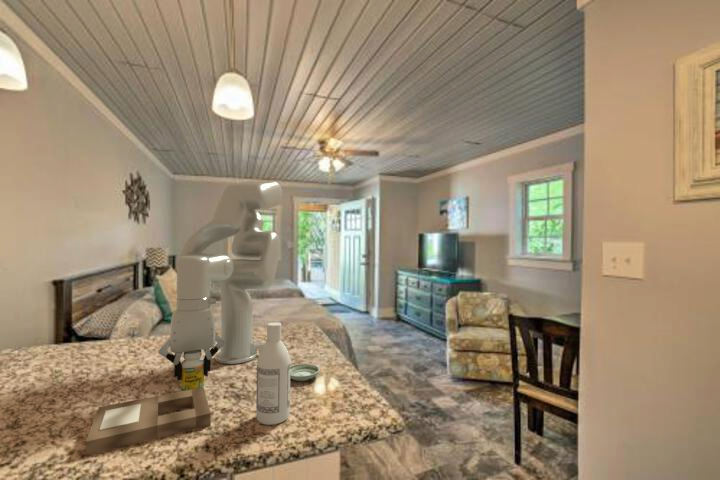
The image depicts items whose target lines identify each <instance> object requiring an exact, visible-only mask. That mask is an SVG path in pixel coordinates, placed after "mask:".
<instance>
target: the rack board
mask: <svg viewBox="0 0 720 480" xmlns="http://www.w3.org/2000/svg"><path fill="white" fill-rule="evenodd" d="M188 408H191V409H188ZM184 409H187V410H184ZM179 410H181V411H179ZM174 411H176V412H174ZM169 412H173V413H169ZM164 413H168V414H164ZM160 414H164V415H160ZM211 415H212V412H211V409H210V405H209V402H208V398H207V395H206V391H205V386H204V387H201V388H196V389H191V390H186V391H181V390H180V391H177V392H171V393H166V394H160V395H156V396H155V395H154V396H150V397H149V396H148V397H145V398H140V399H135V400H129V401H124V402H119V403H113V404H108V405H103V406H102V405H101V406H98V409H97V411H96V413H95V416H94V419H93V422H92V425H91V427H90V429H89V432H88V435H87V437H86V440H85V457H88V456H92V455H96V454H99V453H104V452H107V451H112V450H116V449H120V448H125V447H128V446H132V445H136V444H140V443H145V442H149V441H152V440H153V441H154V440H156V439H161V438H165V437H170V436H174V435H178V434H181V433H186V432H188V431H194V430H198V429H202V428H206V427H210V426H211V425H212V424H211V422H212V421H211V417H212V416H211Z"/></svg>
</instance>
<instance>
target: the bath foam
mask: <svg viewBox="0 0 720 480" xmlns="http://www.w3.org/2000/svg"><path fill="white" fill-rule="evenodd" d="M266 326H267V327H266V342H264V343H265V345H264V346H263V348H262V349H260V352H259V354H258V357H257V361H256V395H255V396H256V401H255V402H256V406H255V407H256V408H255V409H256V411H255V413H256V414H255V417H256V420H257V421H258V423H260V424H262V425H267V426H273V425H279V424H281V423H283V422H285V421H286V420H287V419H288V418H289V417H290V413H291V378H290V366H291V357H290V354H289V353H290V352H289V351H288V348H287V347H286V345H285V344H284V343H283V341H282V323H281V322H269V323H267V325H266Z"/></svg>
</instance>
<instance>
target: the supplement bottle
mask: <svg viewBox="0 0 720 480" xmlns="http://www.w3.org/2000/svg"><path fill="white" fill-rule="evenodd" d="M201 387H204V388H205V375H204V358H203V357H202V350H196V351H189V352H183V360H182V361H181V380H180V392H181V391H186V390H191V389H196V388H201Z"/></svg>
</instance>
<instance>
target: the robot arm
mask: <svg viewBox="0 0 720 480" xmlns="http://www.w3.org/2000/svg"><path fill="white" fill-rule="evenodd" d="M282 199H283V190H282V187H281V184H279V183H278V182H277V181H273V180H271V181H270V180H269V181H268V180H267V181H266V180H265V181H264V180H258V181H256V180H255V181H254V180H253V181H252V180H251V181H240V182H234V183H230V184H227V185H226V186H225V187H224V188H223V190H222V192H221V194H220V198H219V201H218V203H217V205H216V208H215V211H214V213H213V215H212V218H211V219H210V220H209V221H208V222H206V223H205V224H203V225H202V226H201V227H200V228H199V229H197V230H195V232H193V234H191V235H190V236H189V237H188V239H187V240H186V241H185V243H184V244H183V247H182V250H181V252H180V254H179V257H178V259H177V262H176V309H175V310H173V311H172V315H171V318H170V319H171V320H170V329H169V337H168V339H167V340H166V341H165V342H164V343H163V344H162V345H161V346H160V348H159V349H158V350H157V353H158V354H159V355H161V356H162V357H164V358H165V359H166V360H168V361H169V362H171V364H173V369H174V370H173V376H174V378H177V382H178V381H179V382H181V363H182V361H181V358H182V355H183V354H184V352H189V351H196V350H201V351H204V354H205V355H204V358H203V359H204V377H208V375H209V374H208V373H209V372H211V366H212V365H211V361H212V359H213V357H215V361H216V362H218V363H219V364H222V365H223V364H224V365H237V364H241V363H242V364H243V363H247V362H251V361H252V360H255V359H256V358H257V355H258V350H262V348H263V346H264V345H265V343H266V342H261V341H257V342H255V341H253V307H254V305H253V304H254V303H253V299H252V296H251V295H250V294H249V292H248V290H268V289H270V288H271V287H272V286H273V283H274V282H275V277H276V274H277V269H278V263H279V259H280V255H281V254H280V253H281V239H280V237H279V234H277V232H275V231H272V230H263V229H264V223H265V222H264V219H263V216H262V215H261V214H260V212H259V211H258V210H260V211H261V210H262V211H263V210H268V209H271V208H273V207H277V206H278V205H279V204H280V203H281V202H282ZM231 237H233V239H232V243H231V253H232V255H233V256H234V257H236V258H234V259H232V258H231V257H229V256H228V255H226V254H224V253H223V254H222V253H204V251H205V250H206V249H208V248H209V247H210V246H212V245H214V244H216V243H219V242H220V241H223V240H226V239H229V238H231ZM211 282H218V283H219V288H220V300H221V301H220V306H221V309H220V336H219V335H218V334H217V333H216V326H215V317H214V316H215V315H214V311H213V307H211V306H212V305H214V304H215V305H216V303H217V298H212V297H211V295H210V294H211ZM169 348H170V351H171V352H170V351H169V350H168V349H169ZM219 350H220V352H218V351H219ZM217 352H218V353H217ZM173 353H174V354H173ZM215 354H216V355H215Z"/></svg>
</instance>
